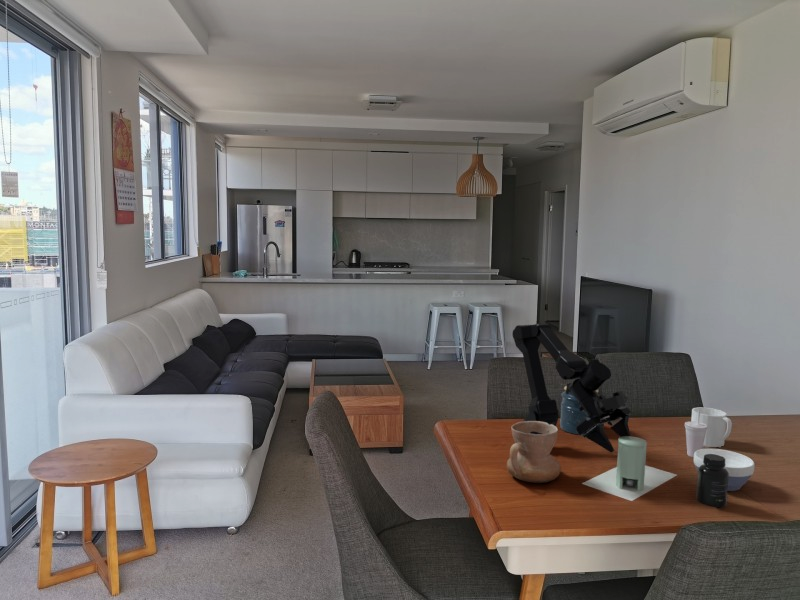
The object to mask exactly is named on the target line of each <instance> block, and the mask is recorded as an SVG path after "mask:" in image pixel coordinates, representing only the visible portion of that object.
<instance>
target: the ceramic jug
mask: <svg viewBox="0 0 800 600" xmlns="http://www.w3.org/2000/svg"><path fill="white" fill-rule="evenodd" d="M510 430H511V434H512V438H513V440H514V443H513V444H511V447H510V449H509V458H508V459H507V461H506V469H507V471H508V473H510V476H512V477H514V478H516V479H518V480H519V481H524V482H527V483H533V484H543V483H545V484H546V483H549V482H552V481H553V480H556V479H557V478H559V475H560V474H561V471H562V466H561V463H560V462H559V460H558V459H557V458H556V457H554V456H553V455H551V454H550V453H551V452H552V450H553V448H554V445H555V444H556V441H557V437H558V433H559V430H558V427H557V425H556V426H554V425H552V424H551V425H549V424H548V423H545V422H539V421H527V422H526V421H524V422H523V421H518V422H516V423H514V424H513V425H511V429H510ZM533 431H534V432H538V433H541V434H536V435H535V434H531V433H530V432H533Z"/></svg>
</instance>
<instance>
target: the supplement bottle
mask: <svg viewBox="0 0 800 600" xmlns="http://www.w3.org/2000/svg"><path fill="white" fill-rule="evenodd" d="M703 463H704V464H703V465H701V466H700V467H699V469H698V470H697V482H696V483H697V484H696V485H697V486H696V498H695V499H696V501H697V502H698V503H700V504H702V505H704V506H708V507H712V508H715V509H723V508H725V507H726V506H727V504H728V502H727V501H728V492H729V491H728V479H729V473H728V471H727V470H726V469H725V468H724V467H725V458H724V457H722V456H719V455H715V454H706V455H704V460H703Z"/></svg>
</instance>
